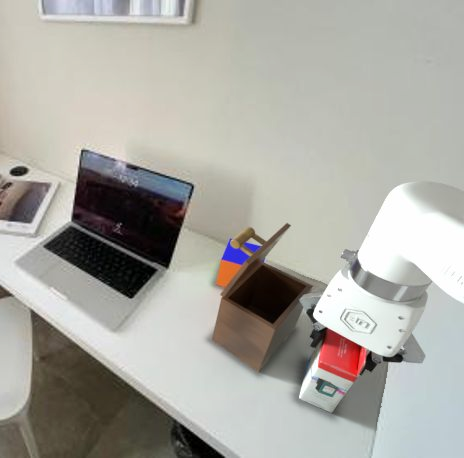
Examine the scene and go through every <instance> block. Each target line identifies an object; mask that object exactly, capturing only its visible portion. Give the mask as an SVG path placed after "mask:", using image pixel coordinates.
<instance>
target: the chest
mask: <svg viewBox="0 0 464 458" xmlns="http://www.w3.org/2000/svg"><path fill="white" fill-rule="evenodd" d="M313 287H314V285H313V284H310V283H308V282H306V281H304V280H302V279H300V278H298V277H295V276H294V275H291V274H290V273H287V272H285V271H283V270H281V269H279V268H277V267H275V266H273V265H271V264H268V263H266V262H265V261H264V262H262V261H261V262H260V263H259V264H258V265H257V266H256V267H255V268H254V269H253V270H252V271H251V272H250V273H249V274H248V275H247V276H246V277H245V278H244V279H243V280H242V281H241V282H239V283H238V284H237V285H236V286H235V287H234V288H233V289H232V290H231V291H230V292H229V293H228V294H227V295H226V296H225V297H222V296H221V298H220V301H219V306H218V309H217V311H218V312H217V315H216V319H215V323H214V328H213V333H212V337H211V341H212V342H214V343H215V344H216V345H218V346H219V347H221V348H223V350H225V351H226V352H228V353H230V354H231V355H232V356H234V357H235V358H237V359H238V360H240V361H241V362H243V363H244V364H245V365H247V366H248V367H250V368H252V370H254V371H256V372H257V373H259V372H260V371H262V369H263V367H264V366H266V364H267V362H269V360H270V359H271V358H272V357H273V355H274V354H275V353H276V352H277V350H278V349H279V348H280V347H281V346H282V344H283V343H284V342H285V341H286V340H287V338H288V337H289V336H290V335H291V334H292V332H294V330H295V328H296V326H297V323H298V321H299V319H300V317H301V314H302V312H303V310H304V307H303V306H302V304H301V303H300V301H299V299H300V298H301V297H302V295H304V294H311V292H312V290H313V289H314V288H313Z"/></svg>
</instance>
